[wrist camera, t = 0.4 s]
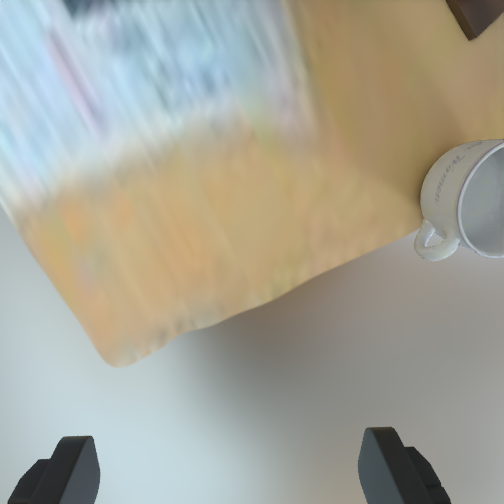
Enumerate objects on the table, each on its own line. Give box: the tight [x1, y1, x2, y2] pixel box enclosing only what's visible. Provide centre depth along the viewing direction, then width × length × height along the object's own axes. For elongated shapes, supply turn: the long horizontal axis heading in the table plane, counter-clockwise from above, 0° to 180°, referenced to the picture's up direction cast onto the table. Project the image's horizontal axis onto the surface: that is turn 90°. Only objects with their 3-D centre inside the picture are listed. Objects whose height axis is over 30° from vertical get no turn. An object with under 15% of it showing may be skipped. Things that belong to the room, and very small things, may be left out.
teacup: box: [414, 139, 504, 261], centre depth 34 cm, size 14×11×8 cm
